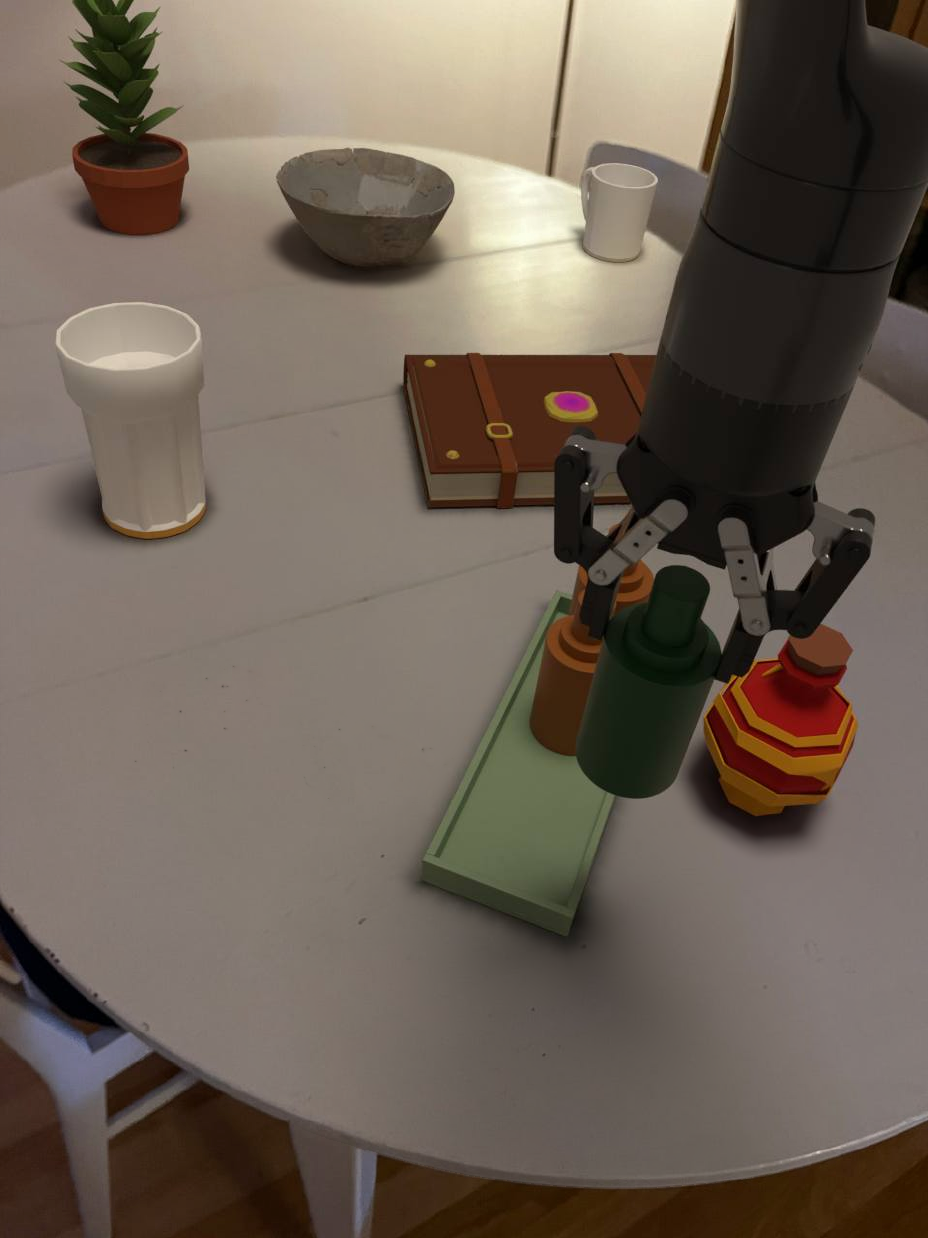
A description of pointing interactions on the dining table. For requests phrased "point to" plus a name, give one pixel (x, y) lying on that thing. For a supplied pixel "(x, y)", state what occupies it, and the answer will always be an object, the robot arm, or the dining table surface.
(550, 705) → the amber bottle mid
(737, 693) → the potion bottle
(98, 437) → the cup
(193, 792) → the dining table surface
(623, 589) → the amber bottle far
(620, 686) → the green bottle
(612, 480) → the book
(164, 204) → the potted plant
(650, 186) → the mug
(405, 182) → the ceramic bowl
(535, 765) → the tray
